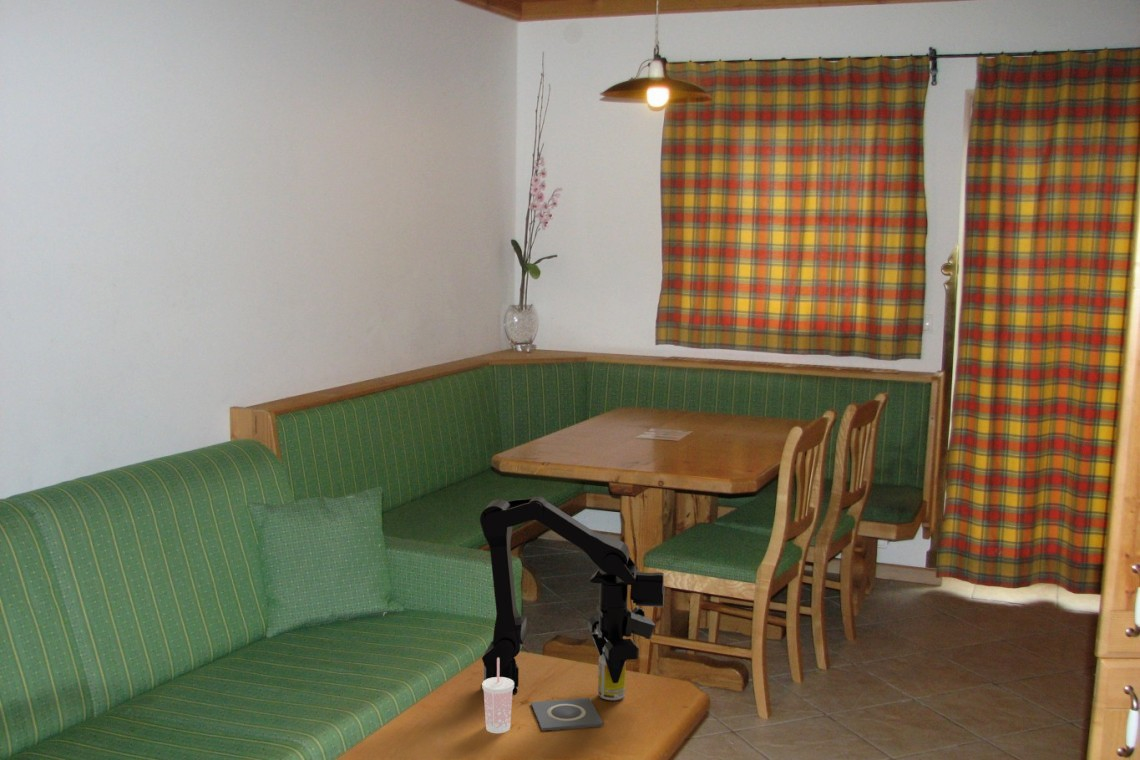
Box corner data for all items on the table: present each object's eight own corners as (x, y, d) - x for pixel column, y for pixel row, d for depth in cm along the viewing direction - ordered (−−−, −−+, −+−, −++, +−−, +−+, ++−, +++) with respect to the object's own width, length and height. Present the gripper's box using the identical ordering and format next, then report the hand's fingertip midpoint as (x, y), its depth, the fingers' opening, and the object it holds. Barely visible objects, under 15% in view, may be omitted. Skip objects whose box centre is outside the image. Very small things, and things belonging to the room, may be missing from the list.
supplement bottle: (630, 696, 225) (631, 649, 224) (610, 703, 222) (611, 655, 220) (612, 688, 230) (613, 640, 228) (592, 694, 226) (593, 647, 225)
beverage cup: (518, 723, 213) (519, 654, 211) (506, 737, 207) (507, 666, 205) (489, 718, 215) (489, 650, 213) (476, 732, 209) (476, 661, 207)
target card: (541, 731, 210) (542, 727, 209) (531, 704, 221) (531, 701, 221) (603, 726, 212) (603, 722, 212) (589, 700, 224) (589, 697, 224)
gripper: (664, 616, 216) (662, 692, 218) (639, 587, 234) (637, 657, 236) (609, 620, 213) (608, 696, 215) (588, 589, 231) (587, 660, 233)
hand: (611, 677), depth 225 cm, fingers closed on supplement bottle, 5 cm apart
